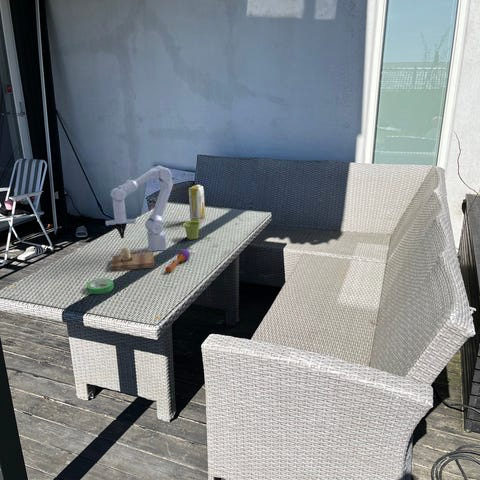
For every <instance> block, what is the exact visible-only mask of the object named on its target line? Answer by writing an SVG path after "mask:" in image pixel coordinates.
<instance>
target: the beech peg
mask: <svg viewBox="0 0 480 480" xmlns="http://www.w3.org/2000/svg"><path fill="white" fill-rule="evenodd" d="M120 252H121V253H120V254H121V255H122V262H128V261H131V258H130V254H131V249H130V248H129V247H123V248H120Z"/></svg>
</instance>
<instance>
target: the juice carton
mask: <svg viewBox="0 0 480 480" xmlns="http://www.w3.org/2000/svg"><path fill="white" fill-rule="evenodd" d="M188 200H189V202H188V203H189V205H188V206H189V219H190V222H191V221H196V222H200V225H201V224H202V223H203V222H205V221H206V220H205V219H206V217H205V216H206V214H205V213H206V212H205V211H206V209H205V189H204V186H203V185H201V184H196V185H193V186H192V187H189V188H188Z"/></svg>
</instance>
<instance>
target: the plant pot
mask: <svg viewBox="0 0 480 480" xmlns="http://www.w3.org/2000/svg"><path fill="white" fill-rule="evenodd" d="M182 225H183V226H184V229H185V233H186V238H187V240H190V241H191V240H197V239H199V231H200V229H199V228H200V225H201V224H200V222H196V221H191V220H190V221H186V222H184V223H183V224H182Z"/></svg>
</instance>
